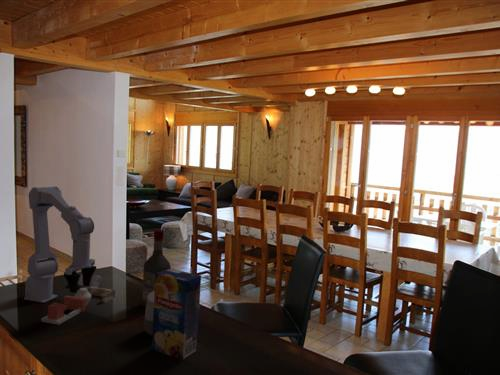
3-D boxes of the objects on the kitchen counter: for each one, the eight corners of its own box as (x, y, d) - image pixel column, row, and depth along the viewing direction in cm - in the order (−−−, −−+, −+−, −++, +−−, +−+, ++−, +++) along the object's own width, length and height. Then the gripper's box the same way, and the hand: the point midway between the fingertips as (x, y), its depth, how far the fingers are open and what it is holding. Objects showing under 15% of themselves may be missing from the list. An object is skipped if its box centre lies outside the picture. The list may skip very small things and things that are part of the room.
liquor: (156, 311, 162) (159, 234, 159) (138, 306, 167) (141, 230, 164) (171, 305, 170) (175, 230, 167) (154, 299, 174) (158, 227, 172)
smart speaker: (138, 335, 142) (139, 294, 140) (154, 325, 150) (155, 286, 149) (162, 341, 138) (164, 299, 137) (177, 330, 147) (179, 291, 145)
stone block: (93, 294, 182) (104, 282, 191) (92, 284, 180) (103, 272, 190) (67, 292, 183) (78, 281, 192) (66, 282, 182) (77, 271, 191)
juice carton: (197, 350, 134) (201, 275, 131) (182, 360, 127) (186, 281, 125) (167, 340, 139) (170, 268, 137) (151, 348, 133) (155, 273, 130)
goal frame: (77, 298, 170) (77, 291, 170) (88, 292, 177) (88, 285, 177) (105, 303, 167) (105, 295, 167) (114, 297, 174) (115, 290, 174)
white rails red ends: (39, 321, 147) (40, 306, 147) (66, 307, 160) (66, 293, 160) (59, 324, 145) (60, 309, 145) (85, 310, 159) (85, 296, 158)
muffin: (80, 309, 159) (81, 291, 159) (70, 305, 162) (70, 287, 162) (94, 305, 165) (95, 287, 164) (84, 301, 168) (84, 284, 167)
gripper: (78, 258, 145) (77, 296, 146) (102, 248, 159) (101, 284, 160) (60, 255, 146) (59, 294, 147) (85, 246, 160) (84, 282, 161)
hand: (79, 288), depth 154 cm, fingers open, 7 cm apart
